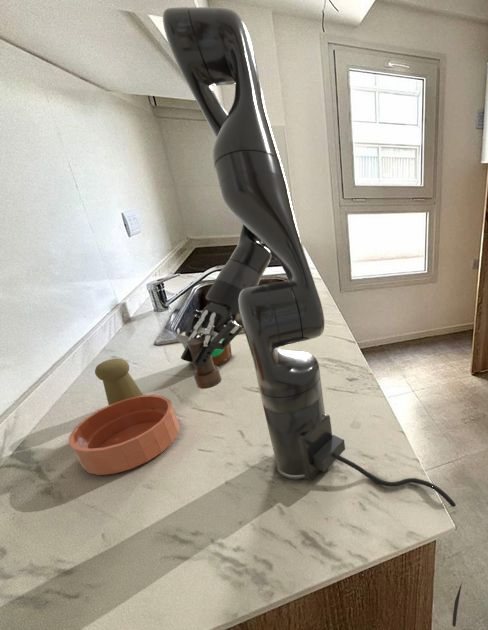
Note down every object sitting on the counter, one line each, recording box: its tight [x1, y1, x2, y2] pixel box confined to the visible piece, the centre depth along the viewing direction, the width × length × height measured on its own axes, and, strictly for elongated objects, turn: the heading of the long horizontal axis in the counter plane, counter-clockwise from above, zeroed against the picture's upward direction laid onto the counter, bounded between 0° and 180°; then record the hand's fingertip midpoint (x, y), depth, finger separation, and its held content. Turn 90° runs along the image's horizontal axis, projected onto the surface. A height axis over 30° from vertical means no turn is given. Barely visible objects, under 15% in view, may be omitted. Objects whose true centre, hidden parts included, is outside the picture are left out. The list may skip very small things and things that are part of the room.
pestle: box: [187, 337, 223, 390], centre depth 67 cm, size 4×4×10 cm
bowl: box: [68, 394, 181, 476], centre depth 61 cm, size 14×14×6 cm
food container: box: [176, 327, 233, 368], centre depth 84 cm, size 12×6×10 cm, turn 105°
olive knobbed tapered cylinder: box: [94, 357, 144, 405], centre depth 70 cm, size 6×6×11 cm
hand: (192, 362), depth 65 cm, fingers closed on pestle, 3 cm apart
